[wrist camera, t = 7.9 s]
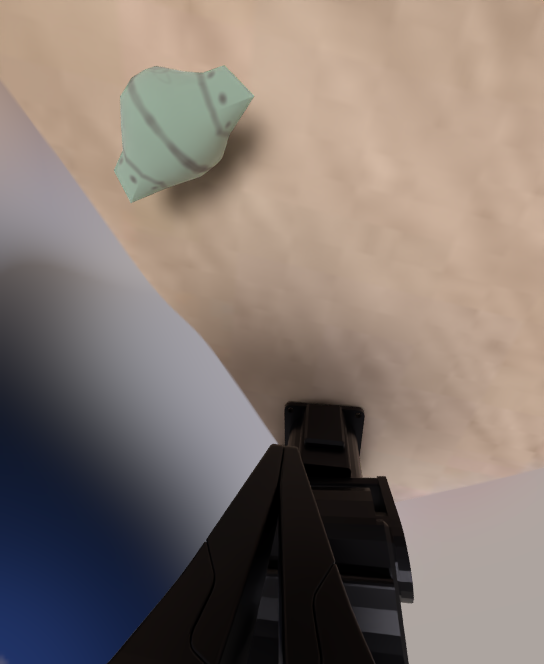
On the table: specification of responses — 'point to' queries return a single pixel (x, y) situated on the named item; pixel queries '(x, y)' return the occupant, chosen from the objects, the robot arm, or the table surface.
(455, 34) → the table surface
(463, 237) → the table surface
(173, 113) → the pale green bulging piece
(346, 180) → the table surface
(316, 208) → the table surface
